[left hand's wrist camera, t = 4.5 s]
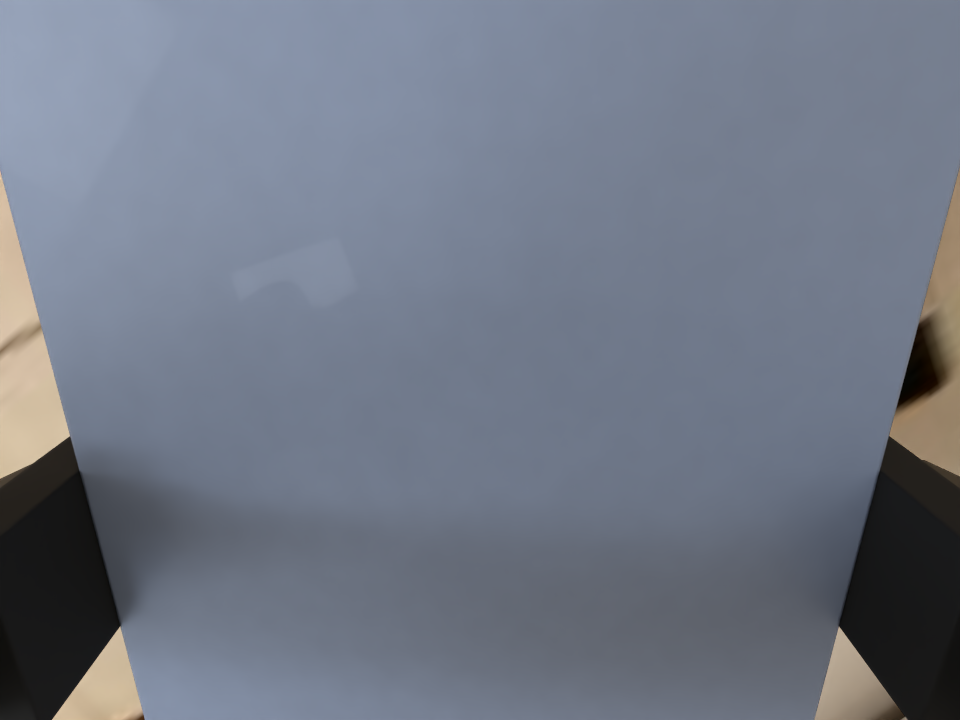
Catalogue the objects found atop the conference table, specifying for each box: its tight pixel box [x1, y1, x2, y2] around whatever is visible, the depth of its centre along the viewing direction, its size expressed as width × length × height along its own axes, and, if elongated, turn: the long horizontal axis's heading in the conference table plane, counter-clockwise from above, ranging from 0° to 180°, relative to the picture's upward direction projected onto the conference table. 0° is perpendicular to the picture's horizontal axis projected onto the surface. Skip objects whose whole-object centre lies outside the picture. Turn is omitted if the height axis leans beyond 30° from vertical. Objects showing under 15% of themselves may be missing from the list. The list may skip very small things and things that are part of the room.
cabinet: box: [0, 0, 960, 720], centre depth 11 cm, size 20×11×10 cm, turn 0°
